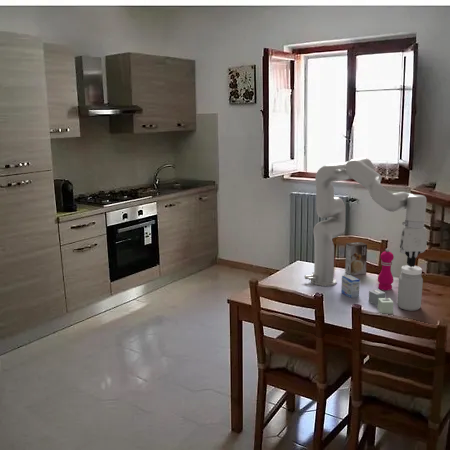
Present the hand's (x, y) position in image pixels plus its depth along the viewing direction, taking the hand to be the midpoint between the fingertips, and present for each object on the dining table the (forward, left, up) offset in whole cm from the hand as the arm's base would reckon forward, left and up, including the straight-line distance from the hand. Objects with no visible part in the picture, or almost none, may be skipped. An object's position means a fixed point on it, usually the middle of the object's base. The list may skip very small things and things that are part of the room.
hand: (410, 265), depth 214 cm
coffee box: (-3, +49, -19) cm, 52 cm away
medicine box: (-19, +19, -19) cm, 33 cm away
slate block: (-11, +8, -19) cm, 23 cm away
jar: (0, 0, -19) cm, 19 cm away
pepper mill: (+1, +24, -19) cm, 30 cm away
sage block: (-12, -2, -19) cm, 22 cm away
